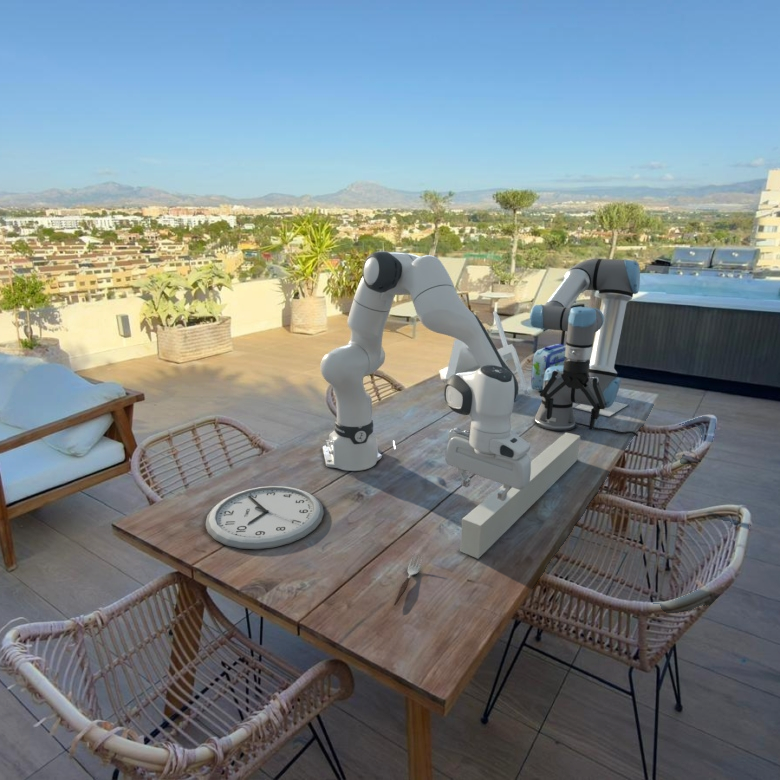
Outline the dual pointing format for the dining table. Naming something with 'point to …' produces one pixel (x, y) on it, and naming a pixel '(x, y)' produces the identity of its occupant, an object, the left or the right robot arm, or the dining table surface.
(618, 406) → the invitation card
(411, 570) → the fork
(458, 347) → the white plastic object
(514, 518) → the post
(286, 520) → the wall clock
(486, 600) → the dining table surface
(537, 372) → the lunch box
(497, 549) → the dining table surface
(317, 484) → the dining table surface
